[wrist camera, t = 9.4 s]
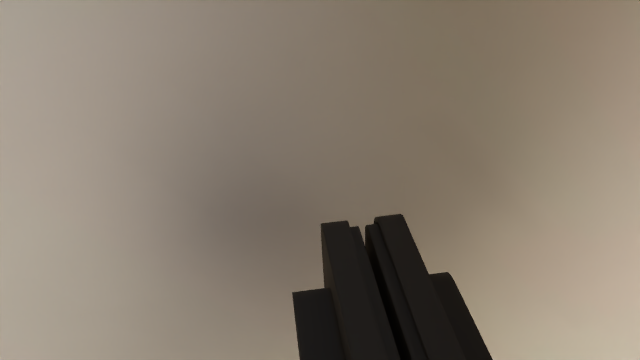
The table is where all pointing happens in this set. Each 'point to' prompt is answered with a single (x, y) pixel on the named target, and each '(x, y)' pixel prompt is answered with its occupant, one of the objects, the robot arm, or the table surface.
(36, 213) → the table surface
